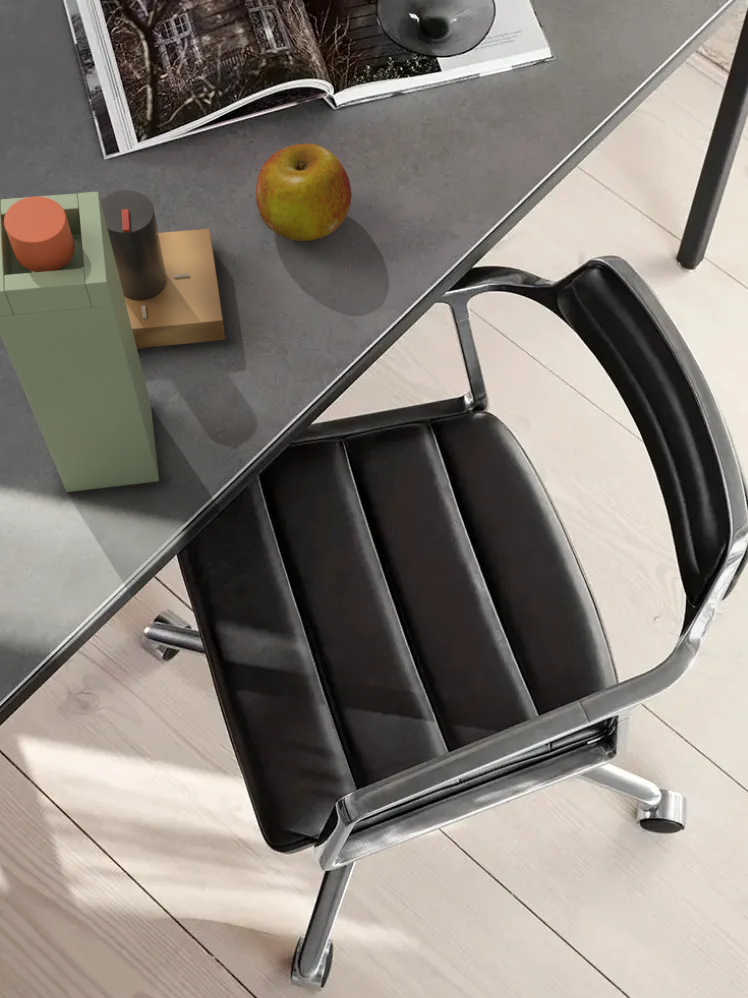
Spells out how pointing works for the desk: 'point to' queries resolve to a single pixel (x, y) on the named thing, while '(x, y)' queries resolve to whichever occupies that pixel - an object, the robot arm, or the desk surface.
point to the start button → (39, 234)
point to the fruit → (303, 192)
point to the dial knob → (135, 243)
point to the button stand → (79, 355)
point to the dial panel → (181, 295)
